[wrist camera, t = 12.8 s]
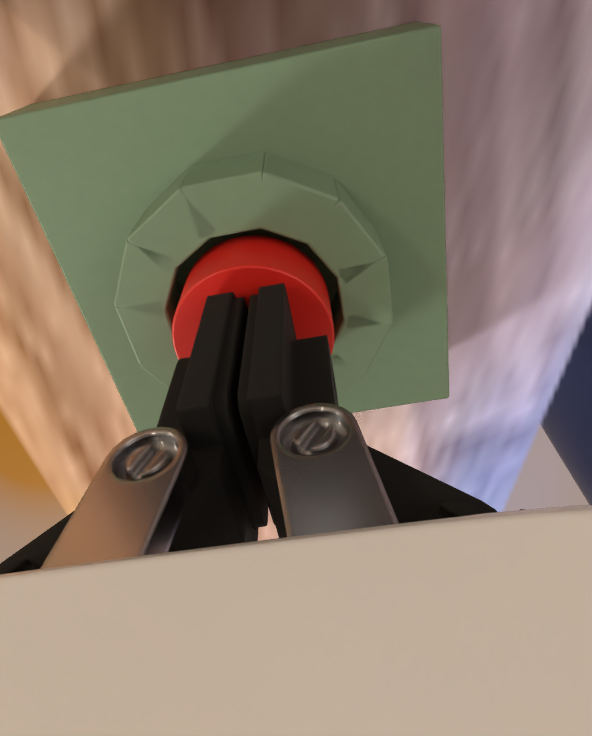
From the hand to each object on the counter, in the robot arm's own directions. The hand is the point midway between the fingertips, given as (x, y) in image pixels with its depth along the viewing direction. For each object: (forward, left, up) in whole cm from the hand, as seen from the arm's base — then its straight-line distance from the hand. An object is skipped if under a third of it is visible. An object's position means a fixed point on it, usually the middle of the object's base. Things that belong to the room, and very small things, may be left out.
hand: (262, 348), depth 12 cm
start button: (0, 0, -2) cm, 2 cm away
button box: (0, 0, -5) cm, 5 cm away
